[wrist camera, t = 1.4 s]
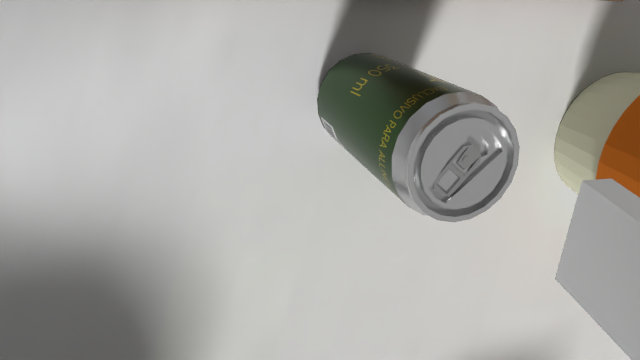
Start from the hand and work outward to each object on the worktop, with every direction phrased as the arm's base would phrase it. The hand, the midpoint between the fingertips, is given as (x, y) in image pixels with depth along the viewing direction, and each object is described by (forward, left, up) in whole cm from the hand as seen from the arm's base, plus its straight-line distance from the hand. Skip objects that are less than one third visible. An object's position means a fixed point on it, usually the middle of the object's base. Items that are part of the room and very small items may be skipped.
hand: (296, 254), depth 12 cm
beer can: (-1, -9, -20) cm, 22 cm away
